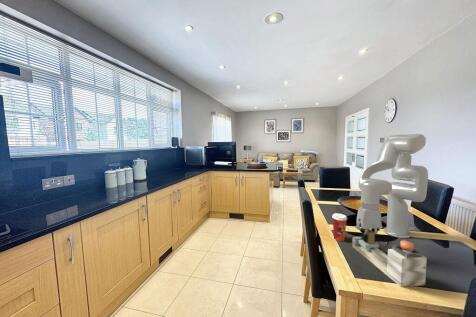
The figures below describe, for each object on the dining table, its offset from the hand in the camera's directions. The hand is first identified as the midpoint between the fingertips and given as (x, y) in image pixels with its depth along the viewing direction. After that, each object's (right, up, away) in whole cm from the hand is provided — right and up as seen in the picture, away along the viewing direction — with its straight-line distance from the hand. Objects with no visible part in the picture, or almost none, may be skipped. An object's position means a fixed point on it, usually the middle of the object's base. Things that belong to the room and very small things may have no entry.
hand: (368, 240), depth 96 cm
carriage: (0, -4, 0) cm, 4 cm away
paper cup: (-8, -5, +14) cm, 17 cm away
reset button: (+1, +6, -21) cm, 21 cm away
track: (+1, -7, -9) cm, 11 cm away
